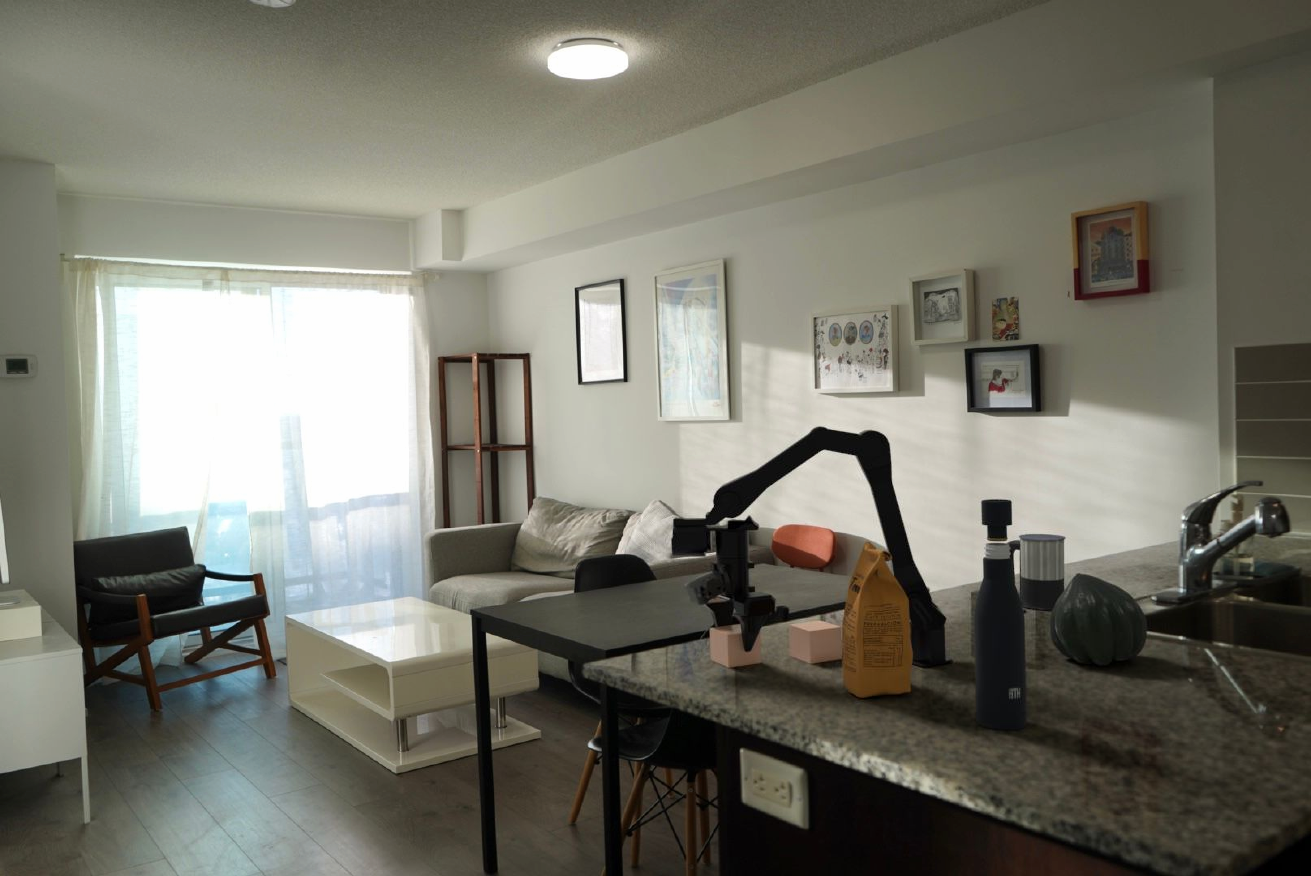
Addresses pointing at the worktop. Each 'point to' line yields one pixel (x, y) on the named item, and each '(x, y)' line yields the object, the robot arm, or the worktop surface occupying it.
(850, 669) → the coffee package
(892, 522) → the robot arm
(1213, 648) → the worktop surface
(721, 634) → the pink block
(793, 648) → the pink rectangular prism
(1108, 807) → the worktop surface
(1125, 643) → the squash
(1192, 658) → the worktop surface
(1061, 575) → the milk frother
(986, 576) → the navy water bottle
